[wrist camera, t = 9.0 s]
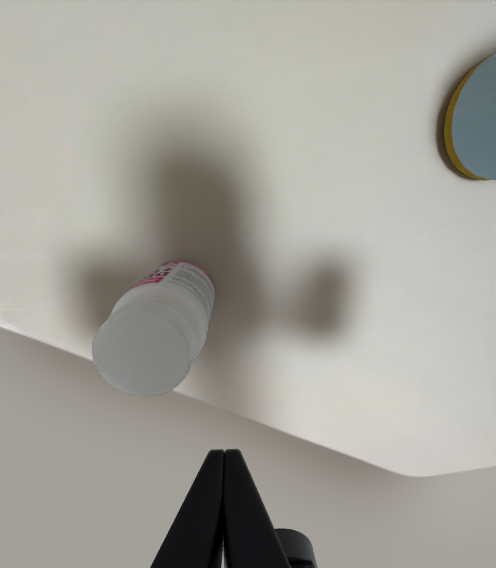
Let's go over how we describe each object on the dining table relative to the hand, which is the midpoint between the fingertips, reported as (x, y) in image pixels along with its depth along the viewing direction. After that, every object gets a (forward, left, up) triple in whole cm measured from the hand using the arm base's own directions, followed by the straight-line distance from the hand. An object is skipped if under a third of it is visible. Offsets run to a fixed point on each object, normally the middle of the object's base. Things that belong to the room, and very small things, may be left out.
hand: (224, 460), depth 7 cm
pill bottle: (+1, +3, -13) cm, 13 cm away
